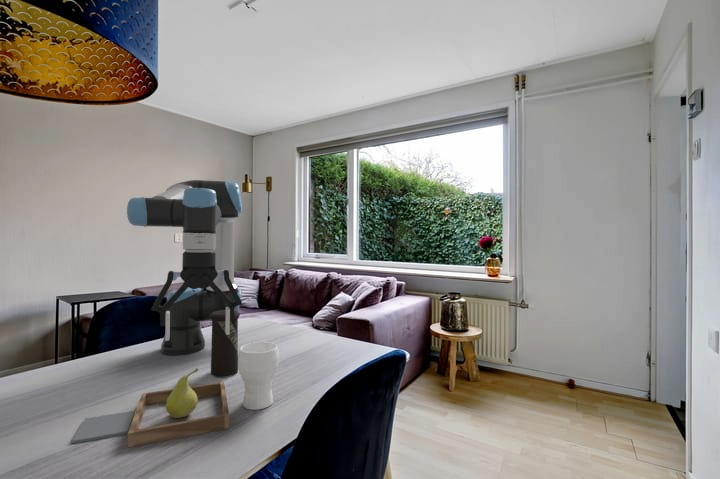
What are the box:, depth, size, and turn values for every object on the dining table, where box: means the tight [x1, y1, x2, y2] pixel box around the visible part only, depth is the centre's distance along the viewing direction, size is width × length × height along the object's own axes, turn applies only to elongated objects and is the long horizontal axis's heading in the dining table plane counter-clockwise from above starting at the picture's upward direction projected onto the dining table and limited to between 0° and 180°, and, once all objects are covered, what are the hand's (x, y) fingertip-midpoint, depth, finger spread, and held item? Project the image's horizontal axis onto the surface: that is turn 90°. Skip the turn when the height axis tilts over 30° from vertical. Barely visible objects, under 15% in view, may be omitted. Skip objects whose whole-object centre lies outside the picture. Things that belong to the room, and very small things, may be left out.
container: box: [210, 310, 241, 378], centre depth 115 cm, size 9×9×20 cm
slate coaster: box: [71, 410, 136, 444], centre depth 82 cm, size 10×10×1 cm
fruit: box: [165, 368, 199, 419], centre depth 88 cm, size 7×8×12 cm
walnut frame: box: [127, 381, 230, 448], centre depth 88 cm, size 20×20×3 cm
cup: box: [238, 341, 280, 411], centre depth 95 cm, size 11×11×15 cm
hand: (198, 336), depth 89 cm, fingers open, 13 cm apart
